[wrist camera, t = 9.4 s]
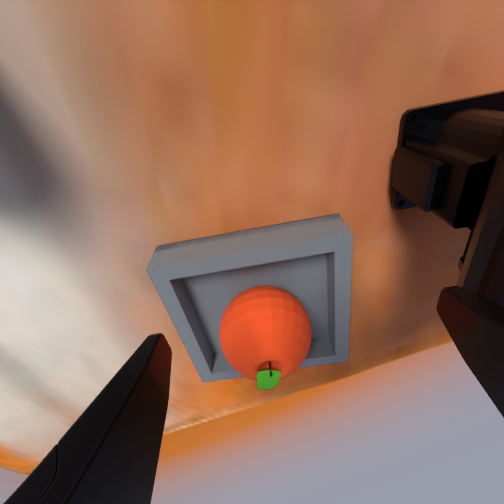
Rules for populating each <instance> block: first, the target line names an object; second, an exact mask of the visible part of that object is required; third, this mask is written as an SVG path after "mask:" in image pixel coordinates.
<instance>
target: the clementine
mask: <svg viewBox="0 0 504 504" xmlns="http://www.w3.org/2000/svg"><path fill="white" fill-rule="evenodd" d="M219 335H220V343H221V348H222V351H223V353H224V355H225V357H226V359H227V360H228V362H229V363H230V365H231V366H232V367H233V368H234V369H235V370H236V371H238V372H239V373H240V374H241V375H243V376H245V377H247V378H250V379H253V380H256V381H257V385H258V389H259V390H262V389H273V388H274V387H275V386H276V384H277V383H278V381H279V380H281V379H283V378H285V377H287V376H288V375H290V374H291V373H293V372H294V371H296V370H297V369H298V368H299V367H300V366H301V365H302V363H303V361H304V360H305V358H306V356H307V354H308V352H309V349H310V344H311V337H312V330H311V323H310V320H309V317H308V314H307V312H306V310H305V308H304V307H303V305H302V304H301V303H300V302H299V300H298V299H296V298H295V297H294V296H293V295H292V294H290V293H289V292H287V291H286V290H283V289H281V288H278V287H274V286H266V285H263V286H255V287H252V288H249V289H247V290H245V291H243V292H241V293H240V294H238V295H237V296H236V297H235V298H233V299H232V300H231V302H230V303H229V305H228V306H227V308H226V310H225V311H224V313H223V315H222V320H221V324H220V329H219Z"/></svg>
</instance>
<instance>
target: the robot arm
mask: <svg viewBox="0 0 504 504" xmlns="http://www.w3.org/2000/svg"><path fill="white" fill-rule="evenodd" d="M411 115H414V118H413V120H412V121H411V122H409V117H410V116H411ZM391 186H392V187H393V192H392V200H391V204H392V206H393V207H394V208H395V209H406V208H411V207H417V206H418V207H420V208H421V209H423V210H424V211H425V212H432V213H434V214H435V215H437V216H438V217H439V218H441V219H442V220H444V221H445V222H446V223H448V224H449V225H451V226H452V227H453V228H455V229H458V228H464V227H466V228H468V229H469V230H471V232H470V235H469V239H468V242H467V245H466V248H465V251H464V255H463V256H462V257H461V258H460V260H459V263H458V267H459V269H460V272H461V273H460V276H459V279H458V282H457V286H451V287H445V288H443V289H442V290H441V293H440V296H439V300H438V303H437V312H438V314H439V316H440V318H441V320H442V322H443V323H444V325H445V327H446V329H447V331H448V332H449V334H450V336H451V338H452V340H453V342H454V343H455V345H456V347H457V349H458V351H459V352H460V354H461V356H462V357H463V359H464V360H465V362H466V364H467V365H468V367H469V368H470V369H471V371H472V372H473V374H474V375H475V377H476V378H477V380H478V381H479V383H480V384H481V385H482V387H483V388H484V390H485V391H486V392H487V394H488V396H489V397H490V398H491V400H492V401H493V403H494V404H495V405H496V407H497V409H498V410H499V411H500V413H501V414H502V416H503V417H504V90H503V91H498V92H493V93H488V94H483V95H478V96H473V97H468V98H463V99H458V100H453V101H448V102H443V103H438V104H433V105H428V106H423V107H418V108H413V109H409V110H407V111H406V112H405V113H404V114H403V115H402V118H401V125H400V133H399V141H398V147H397V148H396V150H395V155H394V163H393V172H392V181H391ZM400 200H402V201H401V203H399V204H397V203H398V202H399V201H400ZM171 360H172V351H171V348H170V346H169V344H168V342H167V340H166V338H165V337H164V335H163V334H162V333H158V334H152V335H149V336H148V337H147V338H146V339H145V340H144V342H143V343H142V344H141V345H140V346H139V348H138V349H137V350H136V351H135V352H134V353H133V355H132V356H131V357H130V358H129V359H128V360H127V362H126V363H125V364H124V365H123V366H122V368H121V369H120V370H119V371H118V372H117V373H116V375H115V376H114V377H113V378H112V379H111V380H110V382H109V383H108V384H107V385H106V386H105V387H104V389H103V390H102V391H101V392H100V393H99V395H98V396H97V397H96V398H95V399H94V400H93V402H92V403H91V404H90V405H89V406H88V407H87V409H86V410H85V411H84V412H83V413H82V415H81V416H80V417H79V418H78V419H77V420H76V422H75V423H74V424H73V425H72V426H71V427H70V429H69V430H68V431H67V432H66V433H65V435H64V436H63V437H62V438H61V439H60V440H59V442H58V444H56V445H55V446H54V447H53V448H52V450H51V451H50V452H49V453H48V454H47V456H46V457H45V458H44V459H43V460H42V461H41V462H40V464H39V465H38V466H37V467H36V468H35V469H34V470H33V472H32V473H31V474H30V475H29V476H28V477H27V479H26V480H25V481H24V482H23V483H22V484H21V485H20V486H19V487H18V488H17V490H16V491H15V492H14V493H13V494H12V495H11V496H10V497H9V498H8V499H7V500H6V501H5V502H4V503H3V504H150V503H151V497H152V492H153V486H154V480H155V475H156V469H157V464H158V458H159V452H160V447H161V441H162V436H163V430H164V424H165V419H166V413H167V407H168V400H169V388H170V374H171Z"/></svg>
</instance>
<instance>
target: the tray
mask: <svg viewBox="0 0 504 504" xmlns="http://www.w3.org/2000/svg"><path fill="white" fill-rule="evenodd" d="M352 245H353V233H352V231H351V230H350V229H349V227H348V226H347V224H346V223H345V222H344V220H343V219H342V218H341V216H340V215H339V213H338V214H332V215H326V216H321V217H315V218H310V219H304V220H299V221H293V222H287V223H282V224H276V225H271V226H265V227H260V228H254V229H248V230H243V231H237V232H232V233H226V234H221V235H215V236H209V237H204V238H198V239H193V240H187V241H182V242H176V243H170V244H165V245H159V246H157V247H156V249H155V251H154V253H153V255H152V258H151V260H150V262H149V264H148V266H147V269H146V270H147V272H148V274H149V276H150V278H151V280H152V282H153V284H154V286H155V288H156V290H157V292H158V294H159V296H160V298H161V300H162V302H163V304H164V306H165V308H166V310H167V312H168V314H169V316H170V318H171V320H172V322H173V324H174V326H175V328H176V330H177V332H178V334H179V336H180V338H181V340H182V342H183V344H184V346H185V348H186V350H187V352H188V354H189V356H190V358H191V360H192V362H193V364H194V366H195V368H196V370H197V372H198V374H199V376H200V378H201V380H202V382H210V381H217V380H223V379H230V378H237V377H244V376H243V375H241V374H240V373H239V372H238V371H236V370H235V369H234V368H233V367H232V366H231V365H230V363H229V362H228V360H227V359H226V357H225V355H224V353H223V351H222V348H221V343H220V335H219V329H220V324H221V320H222V315H223V313H224V311H225V310H226V308H227V306H228V305H229V303H230V302H231V300H232V299H233V298H235V297H236V296H237V295H238V294H240V293H241V292H243V291H245V290H247V289H249V288H252V287H255V286H263V285H266V286H274V287H278V288H281V289H283V290H286V291H287V292H289V293H290V294H292V295H293V296H294V297H295V298H296V299H298V300H299V302H300V303H301V304H302V305H303V307H304V308H305V310H306V312H307V314H308V317H309V320H310V323H311V330H312V337H311V344H310V349H309V352H308V354H307V356H306V358H305V360H304V361H303V363H302V365H301V366H300V367H299V368H305V367H312V366H318V365H325V364H332V363H339V362H345V361H348V356H349V328H350V300H351V272H352Z"/></svg>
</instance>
